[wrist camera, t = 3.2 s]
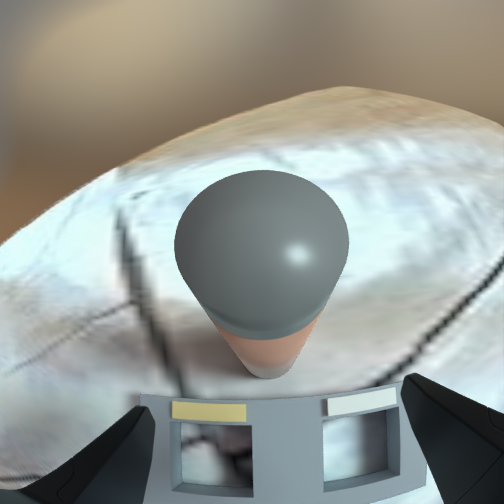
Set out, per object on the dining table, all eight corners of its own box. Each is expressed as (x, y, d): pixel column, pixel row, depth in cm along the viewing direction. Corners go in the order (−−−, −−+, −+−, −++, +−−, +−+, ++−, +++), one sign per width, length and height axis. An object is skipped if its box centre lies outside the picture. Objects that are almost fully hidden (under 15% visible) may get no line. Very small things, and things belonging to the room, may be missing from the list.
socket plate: (156, 495, 14) (141, 505, 12) (153, 395, 19) (137, 393, 16) (411, 479, 13) (428, 486, 11) (408, 380, 18) (425, 375, 15)
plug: (252, 386, 19) (197, 345, 5) (235, 338, 21) (162, 197, 7) (303, 367, 19) (380, 276, 6) (283, 320, 21) (302, 156, 8)
